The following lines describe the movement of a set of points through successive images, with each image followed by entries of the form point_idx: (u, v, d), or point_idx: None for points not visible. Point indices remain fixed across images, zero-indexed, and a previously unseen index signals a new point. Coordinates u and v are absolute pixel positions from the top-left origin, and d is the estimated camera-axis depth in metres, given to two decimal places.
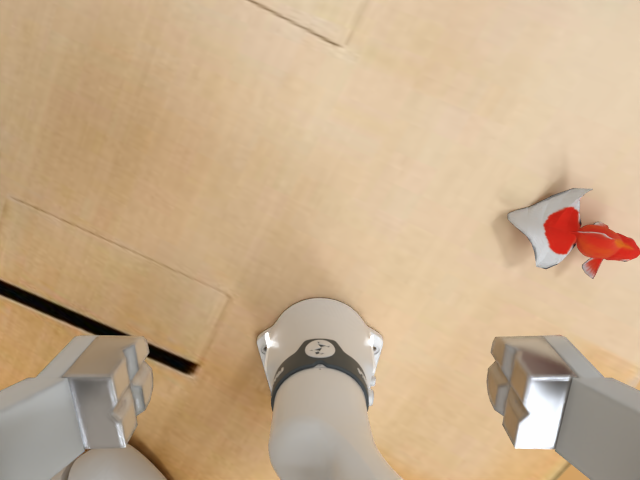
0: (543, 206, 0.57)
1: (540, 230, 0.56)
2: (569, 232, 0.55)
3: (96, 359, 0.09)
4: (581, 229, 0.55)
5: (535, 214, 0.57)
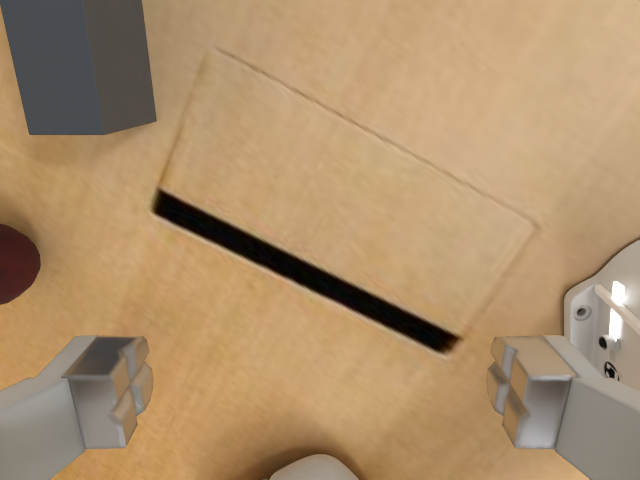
0: None
1: None
2: None
3: (96, 359, 0.09)
4: None
5: None
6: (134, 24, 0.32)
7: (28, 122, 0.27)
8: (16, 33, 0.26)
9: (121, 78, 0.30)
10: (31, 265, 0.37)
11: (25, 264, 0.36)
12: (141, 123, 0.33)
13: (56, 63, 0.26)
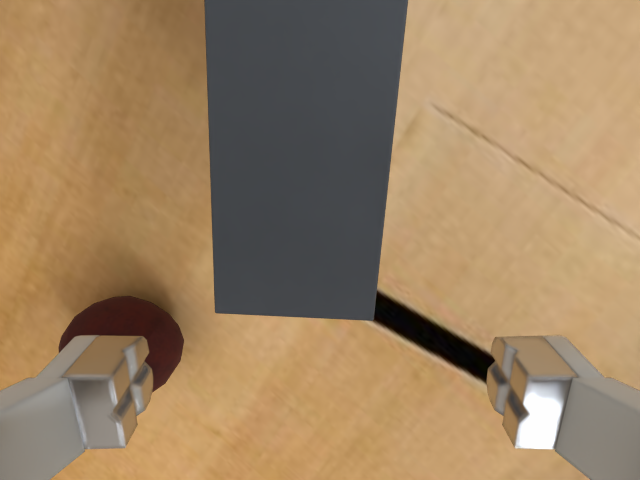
0: None
1: None
2: None
3: (96, 359, 0.09)
4: None
5: None
6: None
7: (218, 290, 0.13)
8: (230, 113, 0.11)
9: None
10: (179, 353, 0.30)
11: (176, 353, 0.30)
12: None
13: (306, 181, 0.12)
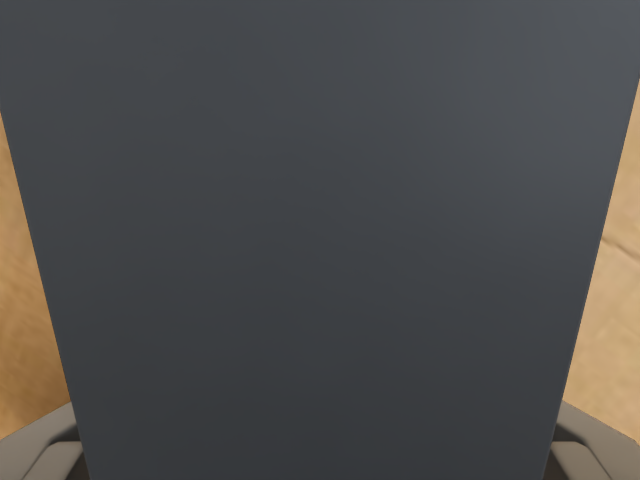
0: None
1: None
2: None
3: None
4: None
5: None
6: None
7: None
8: None
9: None
10: None
11: None
12: None
13: None
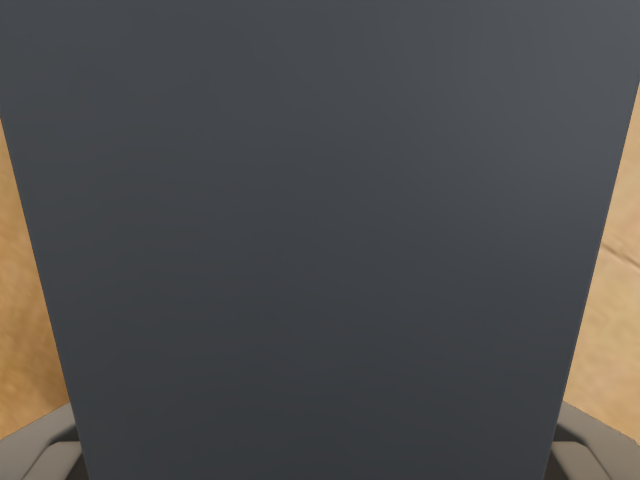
0: None
1: None
2: None
3: None
4: None
5: None
6: None
7: None
8: None
9: None
10: None
11: None
12: None
13: None
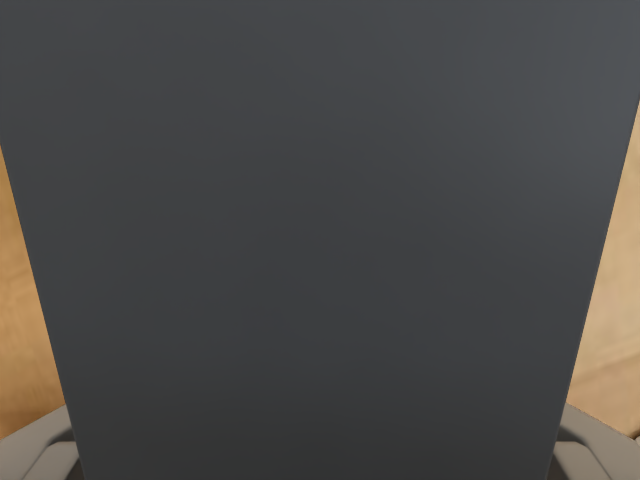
0: None
1: None
2: None
3: None
4: None
5: None
6: None
7: None
8: None
9: None
10: None
11: None
12: None
13: None
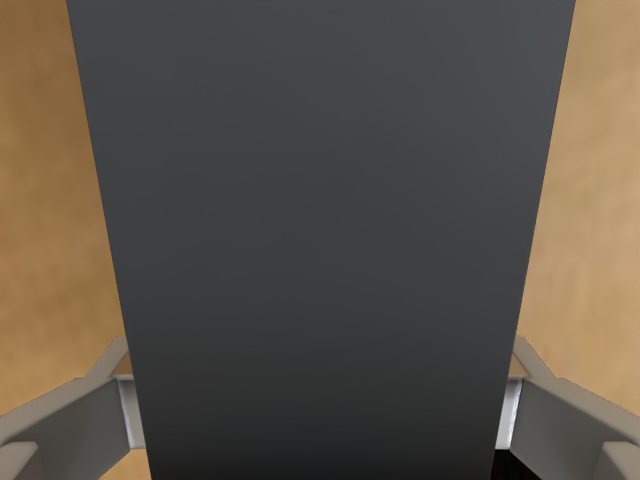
0: None
1: None
2: None
3: None
4: None
5: None
6: None
7: None
8: (184, 422, 0.06)
9: None
10: None
11: None
12: None
13: None
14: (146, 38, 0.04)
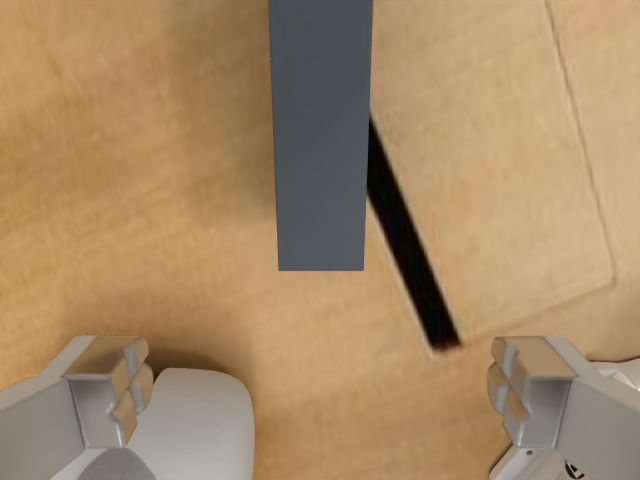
0: None
1: None
2: None
3: (96, 359, 0.09)
4: None
5: None
6: None
7: (280, 258, 0.24)
8: (285, 167, 0.23)
9: None
10: None
11: None
12: None
13: (324, 198, 0.23)
14: (286, 71, 0.21)
